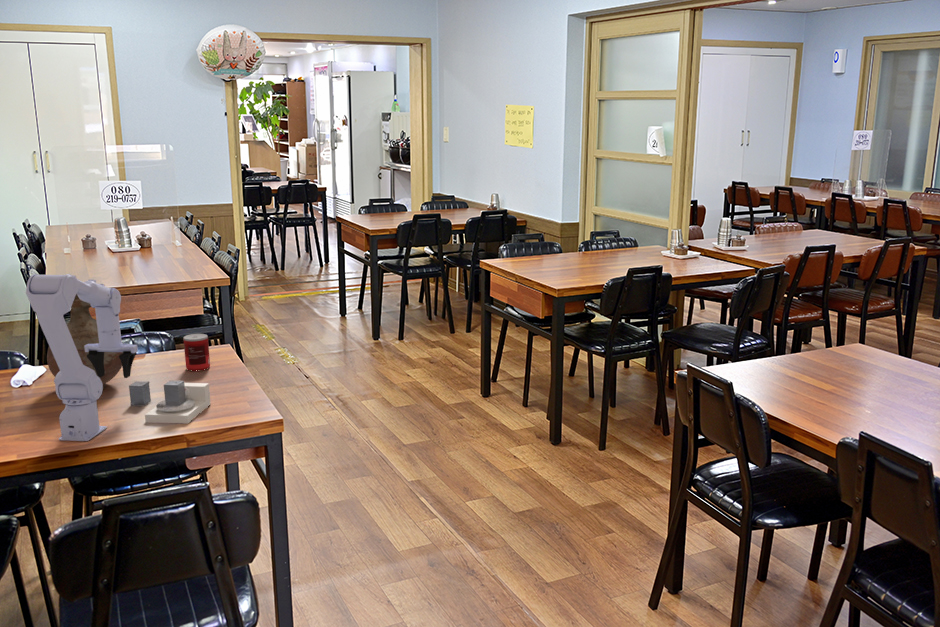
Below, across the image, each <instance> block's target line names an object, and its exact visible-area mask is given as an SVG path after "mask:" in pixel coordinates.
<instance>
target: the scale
mask: <svg viewBox="0 0 940 627" xmlns="http://www.w3.org/2000/svg"><path fill="white" fill-rule="evenodd" d="M184 385H185V396H186V398H190V399H193V400H194V401H195V405H194V406H193V407H191V408H189V409H186V410H182V411H175V412H163V411H159V410H157V407H156V406H155V407H154V408H152V409H150V410H149V411H148V412H146V413H145V414H144V419H145V423H153V424H154V423H156V424H157V423H159V424H161V423H162V424H164V423H165V424H189V423H190V422H192V421H193V420H194V419H195V418H197V417H196V416H197V415H198V414H199V413H200V414H201V413H203V412H204V411H205V410H206V409H208V408H209V407H210V406H211V405H210V404H211V395H210V394H211V393H210V384H209V383H208V382H207V383H205V382H201V383H200V382H184ZM209 405H210V406H209ZM208 406H209V407H208ZM205 408H206V409H205ZM204 409H205V410H204ZM203 410H204V411H203ZM202 411H203V412H202ZM200 414H199V415H200ZM199 415H198V416H199ZM194 417H195V418H194ZM193 418H194V419H193ZM192 419H193V420H192ZM191 420H192V421H191Z"/></svg>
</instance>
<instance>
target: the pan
mask: <svg viewBox="0 0 940 627" xmlns="http://www.w3.org/2000/svg"><path fill="white" fill-rule="evenodd" d="M194 405H195V401H194V400H193V399H190V398H186V402H184V403H183V404H182V405H180V406H166V404H165V399H164V400H162V401H160V402H158V403H157V404H156V406H155V407H157V410H159V411H163V412H175V411H182V410H186V409H189V408H191V407H193V406H194Z"/></svg>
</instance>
